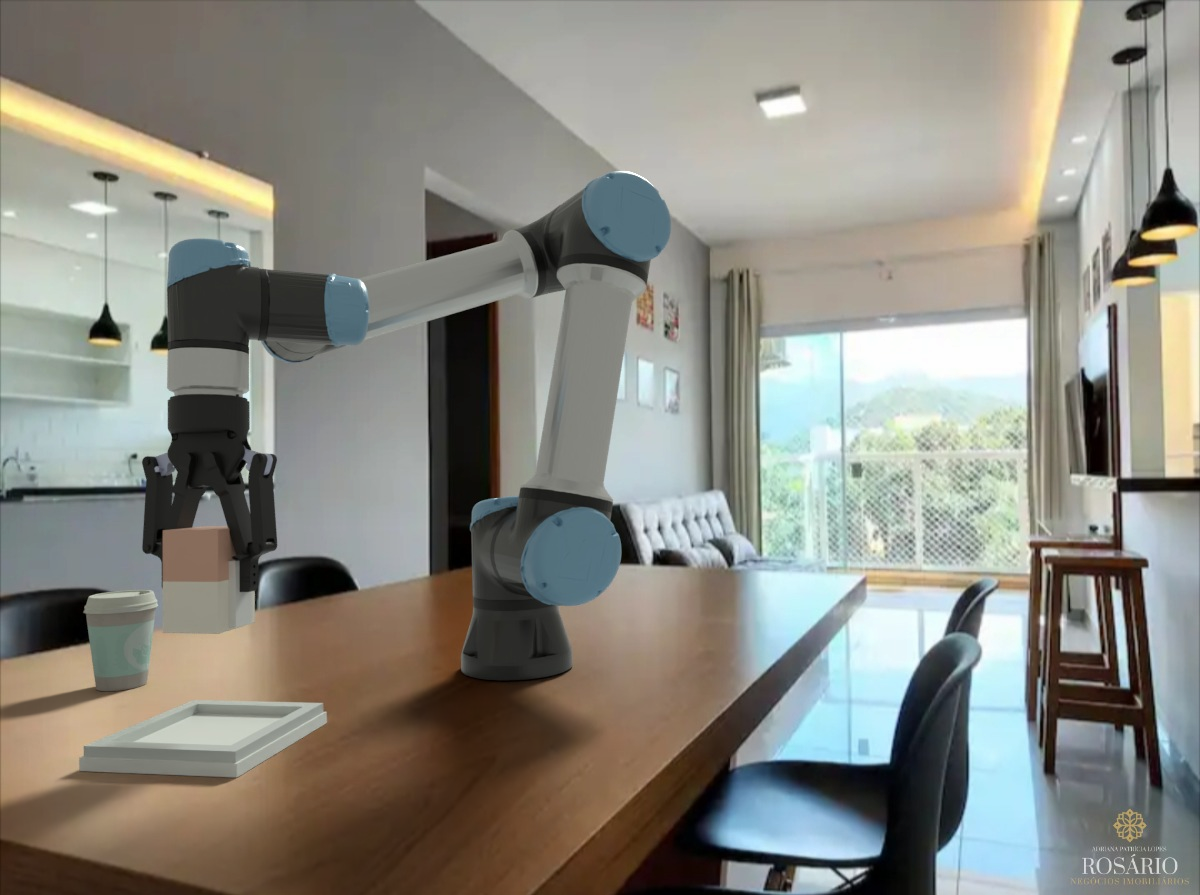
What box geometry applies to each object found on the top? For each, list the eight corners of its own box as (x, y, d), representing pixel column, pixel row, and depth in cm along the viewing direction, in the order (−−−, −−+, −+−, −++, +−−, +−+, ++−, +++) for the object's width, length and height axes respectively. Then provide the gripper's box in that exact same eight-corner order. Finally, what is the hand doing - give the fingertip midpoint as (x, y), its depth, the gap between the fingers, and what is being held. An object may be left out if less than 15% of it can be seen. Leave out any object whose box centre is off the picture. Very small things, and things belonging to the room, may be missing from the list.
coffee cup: (125, 695, 102) (124, 599, 103) (67, 693, 104) (66, 598, 104) (173, 678, 111) (173, 589, 111) (119, 676, 112) (118, 589, 113)
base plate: (326, 722, 88) (326, 702, 89) (236, 777, 73) (236, 752, 73) (193, 719, 91) (193, 699, 91) (79, 771, 75) (79, 746, 76)
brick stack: (254, 622, 85) (254, 526, 85) (218, 633, 79) (218, 529, 79) (202, 622, 86) (202, 526, 86) (162, 632, 80) (162, 530, 80)
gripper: (314, 395, 85) (316, 619, 84) (152, 402, 88) (152, 617, 88) (274, 388, 78) (275, 633, 77) (98, 395, 81) (98, 630, 80)
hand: (210, 624), depth 82 cm, fingers closed on brick stack, 6 cm apart
